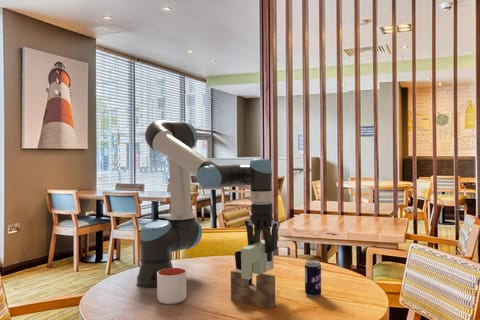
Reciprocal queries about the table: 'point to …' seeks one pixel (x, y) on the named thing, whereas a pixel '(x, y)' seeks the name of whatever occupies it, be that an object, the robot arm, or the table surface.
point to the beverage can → (313, 278)
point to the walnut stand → (253, 289)
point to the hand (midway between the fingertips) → (262, 269)
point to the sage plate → (253, 260)
